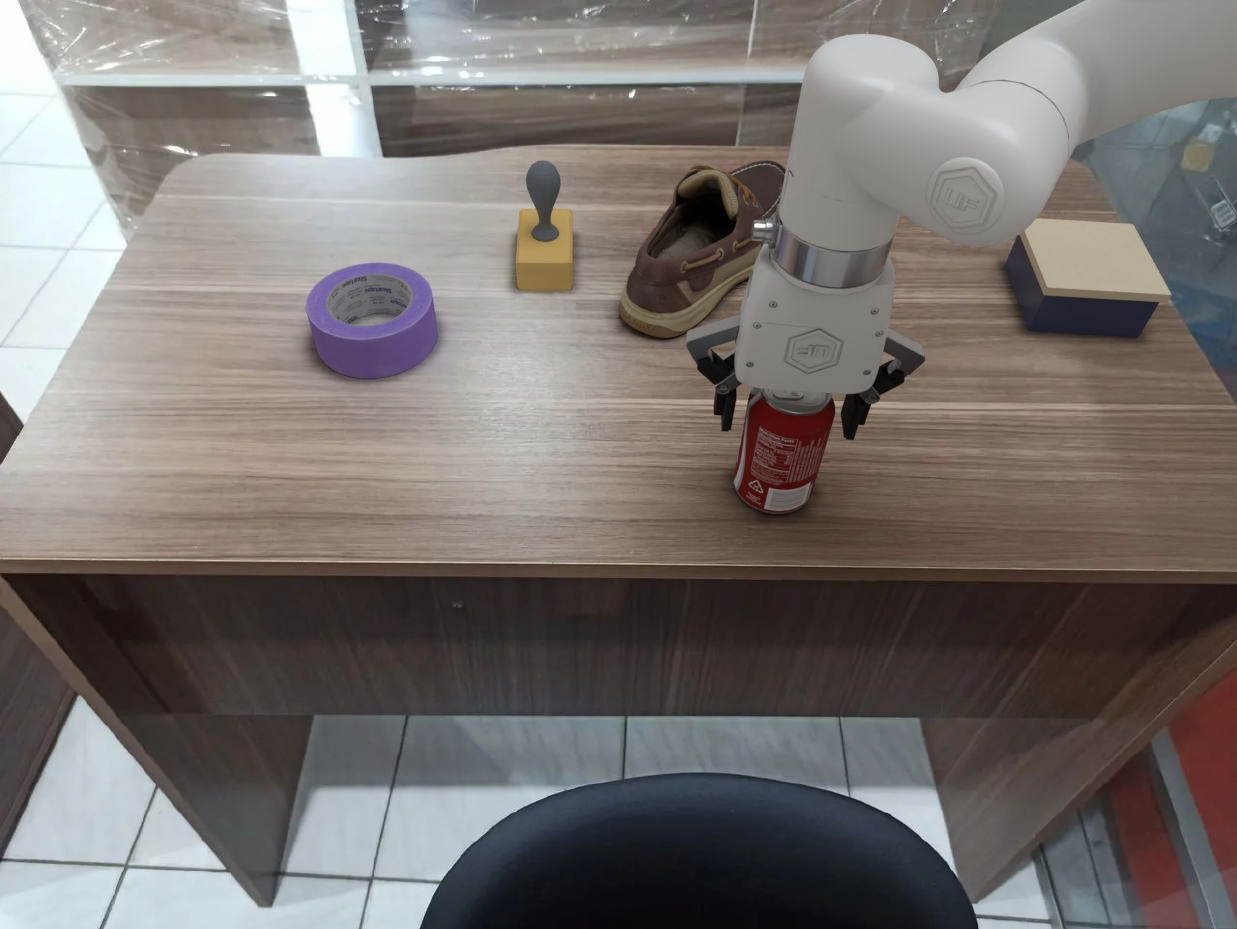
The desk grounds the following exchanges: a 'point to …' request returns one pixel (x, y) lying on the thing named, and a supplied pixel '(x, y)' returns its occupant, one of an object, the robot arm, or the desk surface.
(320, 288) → the tape roll
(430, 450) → the desk surface
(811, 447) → the soda can
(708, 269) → the boat shoe
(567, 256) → the rubber stamp
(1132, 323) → the navy box with lid
